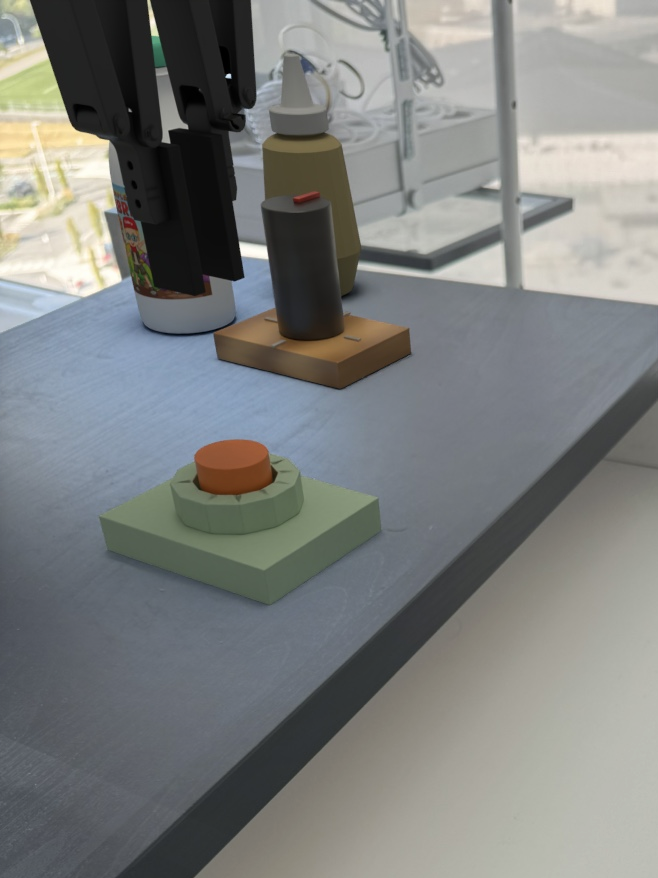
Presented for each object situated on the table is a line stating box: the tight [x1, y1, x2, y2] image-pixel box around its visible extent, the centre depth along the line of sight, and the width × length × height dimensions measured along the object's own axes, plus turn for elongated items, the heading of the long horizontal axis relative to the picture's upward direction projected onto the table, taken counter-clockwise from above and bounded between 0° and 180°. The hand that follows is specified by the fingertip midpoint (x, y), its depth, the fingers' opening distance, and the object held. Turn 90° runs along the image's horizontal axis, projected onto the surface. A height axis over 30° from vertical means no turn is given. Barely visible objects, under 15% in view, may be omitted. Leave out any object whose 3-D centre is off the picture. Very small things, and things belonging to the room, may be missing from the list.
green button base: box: [98, 452, 383, 606], centre depth 67 cm, size 12×10×4 cm
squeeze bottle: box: [261, 53, 362, 297], centre depth 98 cm, size 8×8×18 cm
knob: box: [260, 191, 345, 340], centre depth 87 cm, size 5×5×9 cm
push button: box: [193, 438, 273, 495], centre depth 65 cm, size 4×4×2 cm
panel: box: [212, 307, 412, 390], centre depth 91 cm, size 12×9×2 cm
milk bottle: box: [108, 35, 237, 334], centre depth 91 cm, size 8×8×20 cm
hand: (199, 281), depth 59 cm, fingers open, 2 cm apart
